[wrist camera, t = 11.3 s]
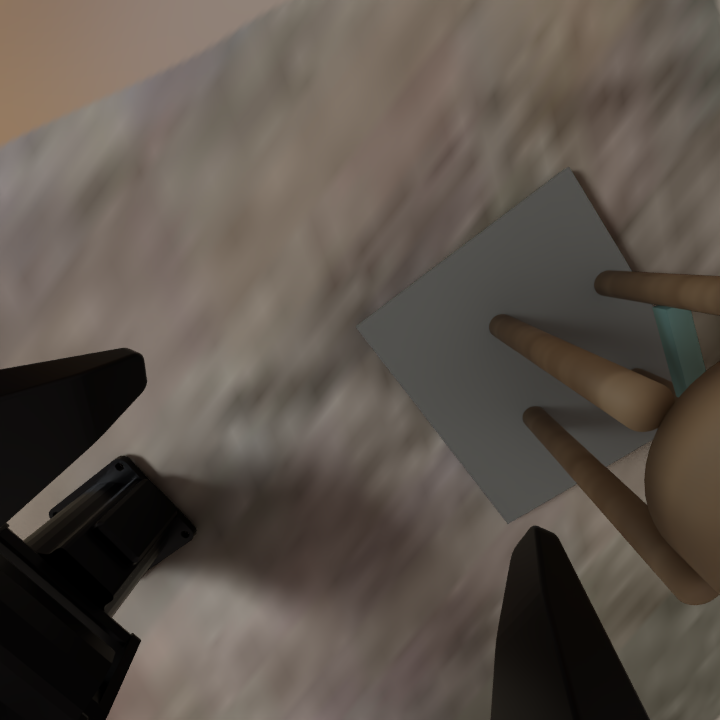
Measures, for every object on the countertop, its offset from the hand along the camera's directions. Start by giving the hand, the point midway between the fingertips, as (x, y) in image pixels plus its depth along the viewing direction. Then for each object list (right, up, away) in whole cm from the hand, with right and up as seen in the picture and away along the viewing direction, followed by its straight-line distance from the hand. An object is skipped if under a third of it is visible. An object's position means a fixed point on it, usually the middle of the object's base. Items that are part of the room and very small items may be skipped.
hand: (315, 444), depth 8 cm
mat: (+10, +2, +12) cm, 16 cm away
